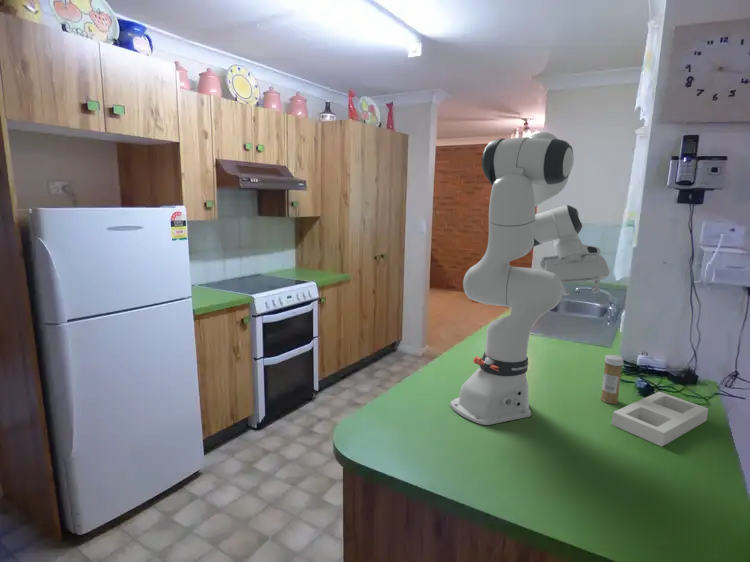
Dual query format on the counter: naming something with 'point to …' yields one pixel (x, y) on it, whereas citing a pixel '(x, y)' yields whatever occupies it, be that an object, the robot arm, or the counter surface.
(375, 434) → the counter surface
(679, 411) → the bottle stand
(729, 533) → the counter surface
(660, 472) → the counter surface
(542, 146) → the robot arm
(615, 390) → the sprinkles bottle
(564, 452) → the counter surface
